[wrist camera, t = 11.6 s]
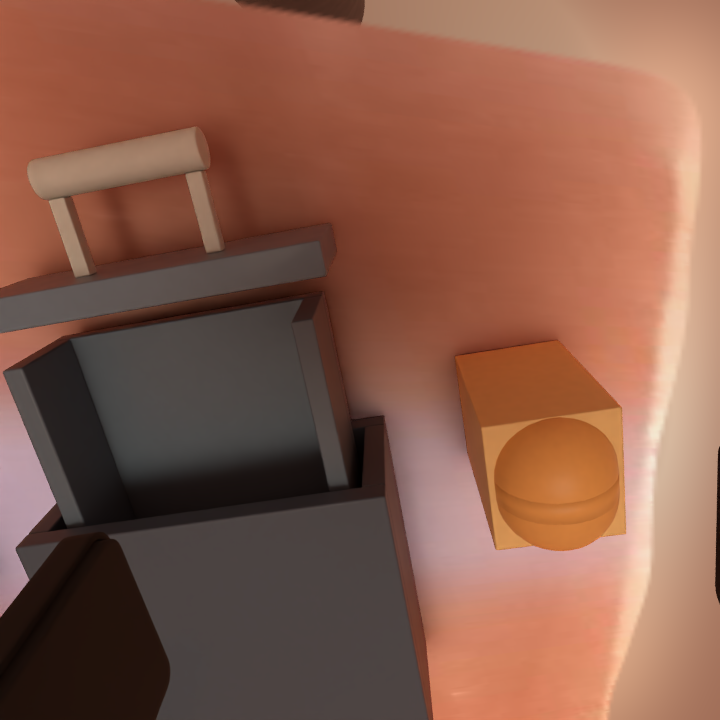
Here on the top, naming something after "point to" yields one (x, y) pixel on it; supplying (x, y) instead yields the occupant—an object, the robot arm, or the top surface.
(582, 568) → the top surface
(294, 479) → the drawer
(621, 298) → the top surface
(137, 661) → the robot arm
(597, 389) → the orange container
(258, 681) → the cabinet
